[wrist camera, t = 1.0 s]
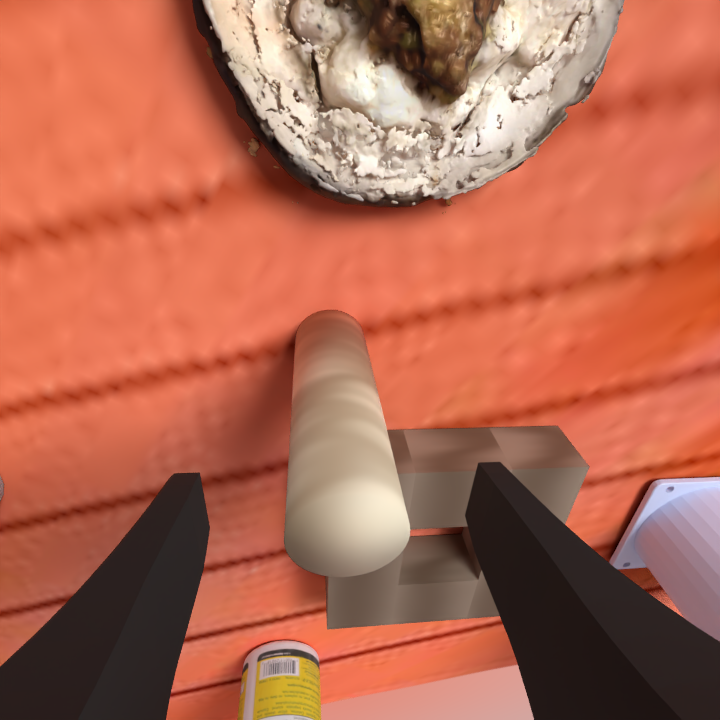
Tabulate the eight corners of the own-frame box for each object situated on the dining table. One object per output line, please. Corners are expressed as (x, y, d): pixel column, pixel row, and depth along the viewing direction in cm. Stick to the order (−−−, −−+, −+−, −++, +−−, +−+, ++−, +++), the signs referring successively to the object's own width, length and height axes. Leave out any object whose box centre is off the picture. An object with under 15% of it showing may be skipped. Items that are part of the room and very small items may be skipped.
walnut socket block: (557, 425, 23) (589, 466, 20) (506, 568, 29) (526, 614, 26) (328, 431, 21) (331, 476, 19) (325, 580, 27) (327, 629, 25)
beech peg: (366, 309, 18) (417, 490, 10) (362, 370, 20) (403, 573, 11) (294, 309, 18) (281, 496, 9) (296, 371, 19) (285, 581, 11)
